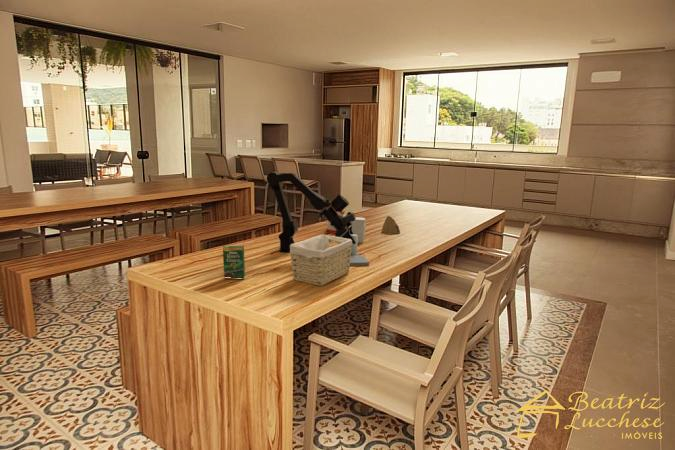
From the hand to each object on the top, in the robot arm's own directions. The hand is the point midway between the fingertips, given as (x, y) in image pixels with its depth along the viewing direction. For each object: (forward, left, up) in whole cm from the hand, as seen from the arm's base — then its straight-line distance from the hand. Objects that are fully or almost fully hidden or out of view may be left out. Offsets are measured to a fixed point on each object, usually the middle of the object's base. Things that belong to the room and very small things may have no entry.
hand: (355, 242), depth 209 cm
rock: (+33, +48, -7) cm, 59 cm away
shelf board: (-4, -11, -7) cm, 13 cm away
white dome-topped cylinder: (-1, 0, -7) cm, 7 cm away
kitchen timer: (+2, +55, -7) cm, 56 cm away
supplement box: (+8, +29, -7) cm, 31 cm away
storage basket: (-21, -30, -7) cm, 37 cm away
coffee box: (-55, -30, -7) cm, 63 cm away
